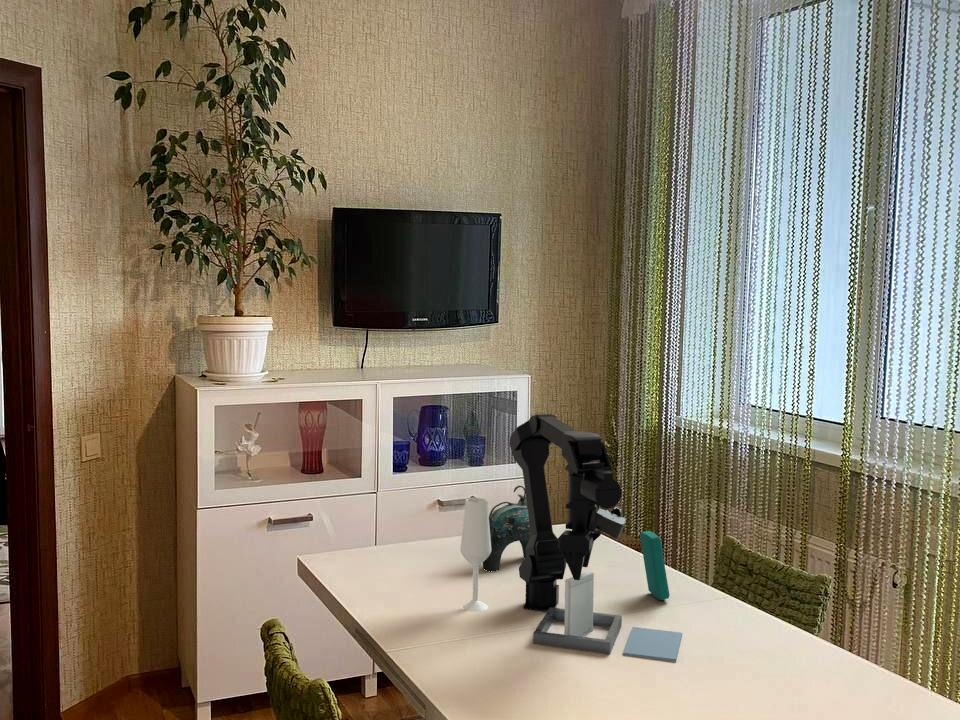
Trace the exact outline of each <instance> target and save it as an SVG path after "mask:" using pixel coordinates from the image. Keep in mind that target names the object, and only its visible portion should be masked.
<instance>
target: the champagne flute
mask: <svg viewBox="0 0 960 720" xmlns="http://www.w3.org/2000/svg"><path fill="white" fill-rule="evenodd" d="M463 512H464V513H463V520H462V521H463V523H462V530H461V531H462V532H461V541H460V542H461V543H460V548H459V549H460V554H461V555H462V557H463V558H464V560H466V561H467V562H468V563H469V564H470V565H472V600H470V601H468V602H466V603H464V604H463V605H462V609H463V610H465V611H469V612H483V611H486V610H488V609H489V606H488V604H485V603H484V602H482V601H480V600H479V566H480V565H481V564H482V565H483V562H484V561H485V560H486V559H487V558H488V557H489V555H490V553H491V538H490V526H489V515H490V512H489V501H488V499H486V498H483V497H468V498H467V499H465V503H464V511H463Z"/></svg>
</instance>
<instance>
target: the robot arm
mask: <svg viewBox="0 0 960 720" xmlns="http://www.w3.org/2000/svg"><path fill="white" fill-rule="evenodd" d="M552 444H554V445H555V446H557V447H558V448H559V449H561V456H562V457H563V458H564V459H565V461H566V462H567V465H565V468H564V470H565V471H566V472H568V494H567V495H568V498H567V499H568V500H567V502H566V503H565V509H566V510H567V521H566V522H565V529H566V530H564V531H563V532H562V533H561V534H560V535H559V537H558V536H556V534H555V533H554V530H553V524H552V516H551V508H550V501H549V493H548V485H547V479H546V478H547V477H546V472H545V471H546V470H545V465H546V463H547V461H548V458H549V456H550V446H551V445H552ZM509 447H510V450H511V452H512V455H513V460H514V461H515V462H516V464H517V465H518V466H519V468H521V470H522V476H523V483H524V488H525V493H526V500H527V508H528V516H529V523H530V531H531V537H530V539H529V541H528V544H527V546H526V549H525V550H526V557H525V559H524V558H523V560H522V562H521V564H520V565H519V567H518V573H519V578H520V579H521V580H522V581H524V582H525V600H524V601H525V603H524V604H523V606H522V607H523V609H524V610H531V611H541V612H547V611H548V609H549V608H550V607H551V608H557V605H559V601H560V598H559V596H560V593H559V592H560V585H559V584H557V580H564V576H565V572H566V568H567V567H568V568H569V571H570V573H571V576H572V577H573V578H574V580H580V577H581V574H582V572H583V571H582V570H583V568H588V567H589V562H590V559H591V555H592V551H593V547H594V542H595V541H596V540H597V539H599V537H601V535H602V534H603V533H605V534H607V535H609V536H610V537H611V538H613V539H619V537H620V535H621V534H622V532H623V529H624V527H625V525H626V521H627V520H626V517H625V516H623V510H622V509H621V508H619V507H617V505H618V504H619V502H620V501H621V498H622V493H623V491H622V488H621V485H620V484H619V482H618V481H617V480H615V479H614V478H613V477H614V476H613V475H614V474H613V472H612V469H613V468H612V464H611V463H612V461H611V458H610V456H609V454H608V451H607V449H606V446H605V443H604V441H603V439H602V437H601V436H600V435H599V434H598V433H594V432H589V431H579V430H576V429H575V428H573V427H572V426H570V425H569V424H567V423H566V422H563V421H562V420H560V419H558V418H557V417H556V415H555V414H552V413H538V414H537V413H535V414H534V415H531V416H530V418H529V419H528V420H527V421H526V422H524V423H522V424H520V425H518V426H517V427H516V428H515V429H514V431H513V432H512V434H511V435H510V437H509ZM602 508H603V509H602ZM605 509H606V510H605ZM608 509H611V510H610V511H609V510H608Z"/></svg>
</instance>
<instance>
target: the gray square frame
mask: <svg viewBox="0 0 960 720" xmlns="http://www.w3.org/2000/svg"><path fill="white" fill-rule="evenodd" d="M622 618H623V616H622V615H619V614H612V613H604V612H594V611H593V627H594V626H596V627H604V628H609V630H608V633H607V635H606V637H605V639H603V638H596V637H588V636H582V637H580V636H572V635H564V633H556V632H549V629H550V628H551V626H552V624H553V622H554V621H556V622H564V623H565V608H557V607H555V608H551V607H550V608H549V609H548V611H546V613H545V614H544V616H543V618H542V619H541V620H540V621H539V624H538V625H537V627H536V628H535V630H534V631H533V634H532V636H533V637H532V644H533V645H535V646H536V645H537V646H544V647H551V648H558V649H566V650H574V651H581V652H588V653H595V654H596V653H597V654H603V655H611V653H612V651H613V649H614V646H615V643H616V641H617V639H618V637H619V633H620V632H621V630H622V621H623V620H622Z"/></svg>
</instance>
